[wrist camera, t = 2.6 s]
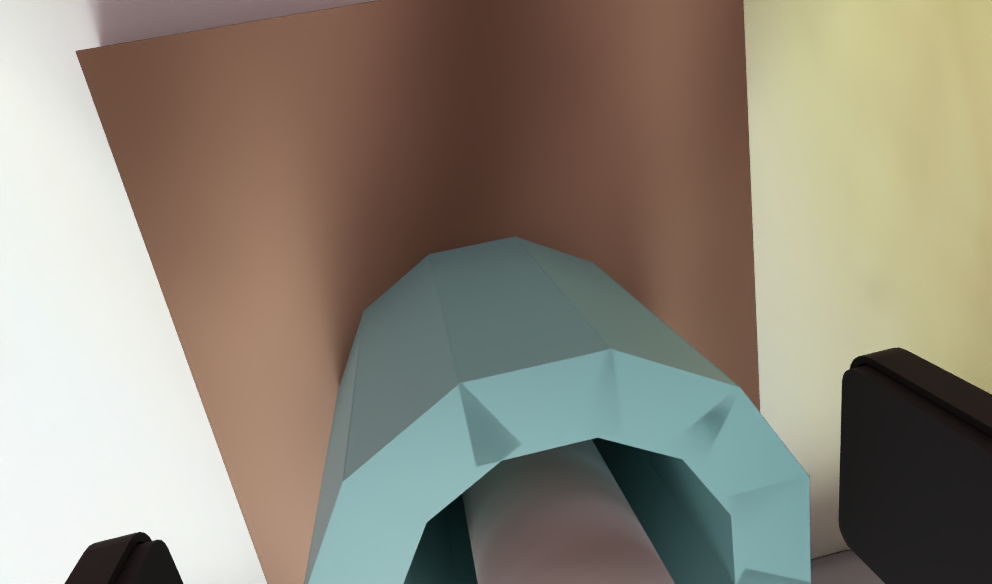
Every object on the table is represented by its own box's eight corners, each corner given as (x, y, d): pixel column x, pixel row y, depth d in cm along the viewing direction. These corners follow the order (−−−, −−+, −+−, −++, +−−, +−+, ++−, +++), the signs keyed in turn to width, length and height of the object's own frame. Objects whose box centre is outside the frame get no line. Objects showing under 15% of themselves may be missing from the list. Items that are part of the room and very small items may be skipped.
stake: (715, -49, 13) (1109, -220, 6) (741, 456, 17) (998, 724, 10) (100, 54, 12) (-340, -3, 5) (281, 571, 16) (190, 969, 9)
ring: (628, 212, 13) (808, 303, 8) (662, 531, 16) (813, 776, 10) (307, 278, 13) (240, 431, 7) (397, 599, 15) (401, 901, 10)
